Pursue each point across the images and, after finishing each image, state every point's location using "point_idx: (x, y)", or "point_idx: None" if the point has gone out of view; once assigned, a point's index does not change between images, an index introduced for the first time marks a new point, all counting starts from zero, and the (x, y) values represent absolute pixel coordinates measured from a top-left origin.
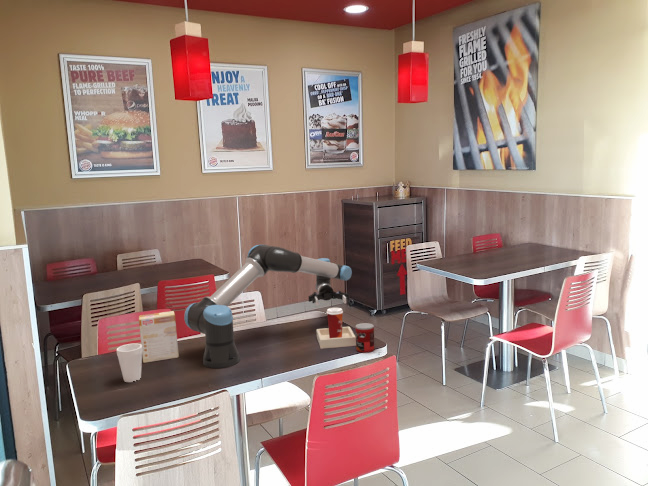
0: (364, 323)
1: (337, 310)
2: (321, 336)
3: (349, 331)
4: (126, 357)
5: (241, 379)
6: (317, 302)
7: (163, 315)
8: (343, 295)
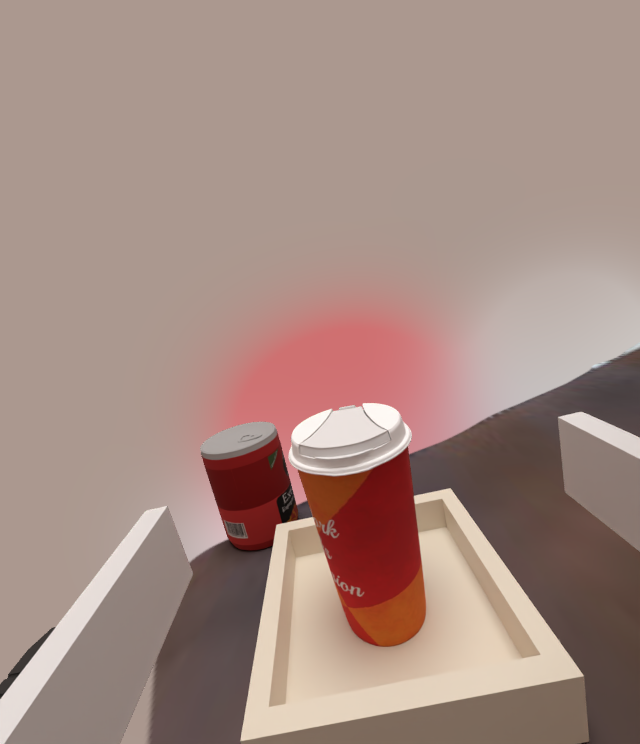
0: (224, 451)
1: (327, 415)
2: (459, 523)
3: (280, 620)
4: None
5: (597, 380)
6: (567, 455)
7: None
8: (20, 697)
